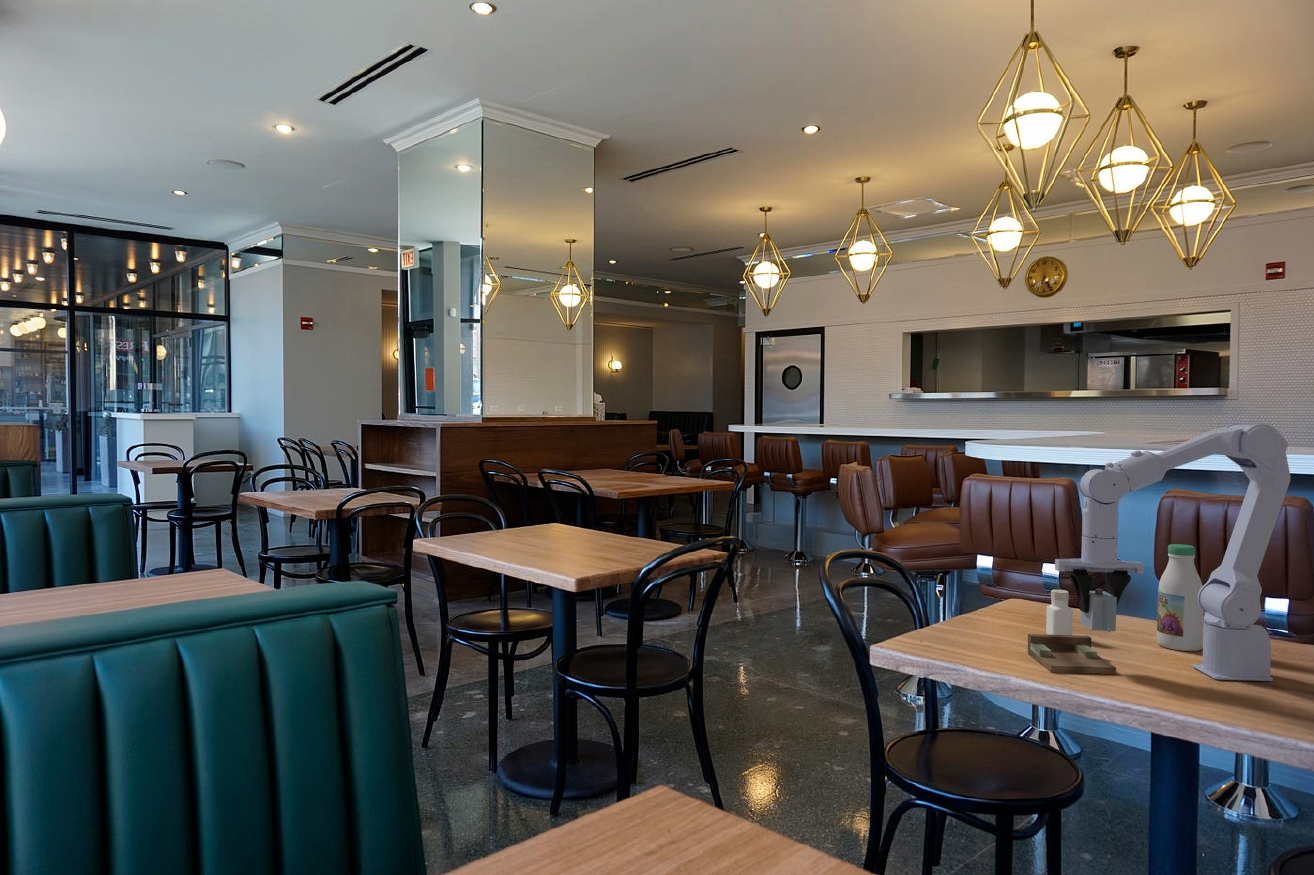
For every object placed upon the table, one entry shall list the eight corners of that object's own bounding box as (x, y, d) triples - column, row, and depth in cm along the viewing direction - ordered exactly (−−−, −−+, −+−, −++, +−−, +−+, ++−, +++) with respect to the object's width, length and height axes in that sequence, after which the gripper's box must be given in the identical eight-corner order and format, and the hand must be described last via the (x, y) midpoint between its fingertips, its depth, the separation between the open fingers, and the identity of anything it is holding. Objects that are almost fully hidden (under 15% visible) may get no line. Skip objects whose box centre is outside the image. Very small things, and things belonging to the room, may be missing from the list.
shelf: (1087, 655, 162) (1088, 635, 162) (1115, 674, 150) (1116, 653, 150) (1027, 653, 163) (1028, 634, 163) (1050, 672, 151) (1051, 651, 151)
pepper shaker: (1073, 640, 173) (1074, 593, 173) (1053, 639, 173) (1054, 593, 173) (1064, 634, 177) (1065, 589, 177) (1044, 634, 177) (1045, 589, 177)
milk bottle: (1190, 642, 172) (1192, 542, 171) (1210, 652, 164) (1213, 548, 164) (1149, 641, 173) (1151, 542, 172) (1168, 651, 165) (1170, 548, 164)
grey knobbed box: (1103, 624, 156) (1104, 586, 156) (1121, 634, 149) (1123, 595, 148) (1080, 623, 156) (1081, 586, 156) (1097, 634, 149) (1098, 595, 149)
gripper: (1131, 534, 157) (1129, 608, 157) (1049, 532, 158) (1047, 605, 158) (1150, 540, 150) (1148, 617, 150) (1064, 538, 151) (1062, 614, 151)
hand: (1097, 612), depth 154 cm, fingers closed on grey knobbed box, 4 cm apart
